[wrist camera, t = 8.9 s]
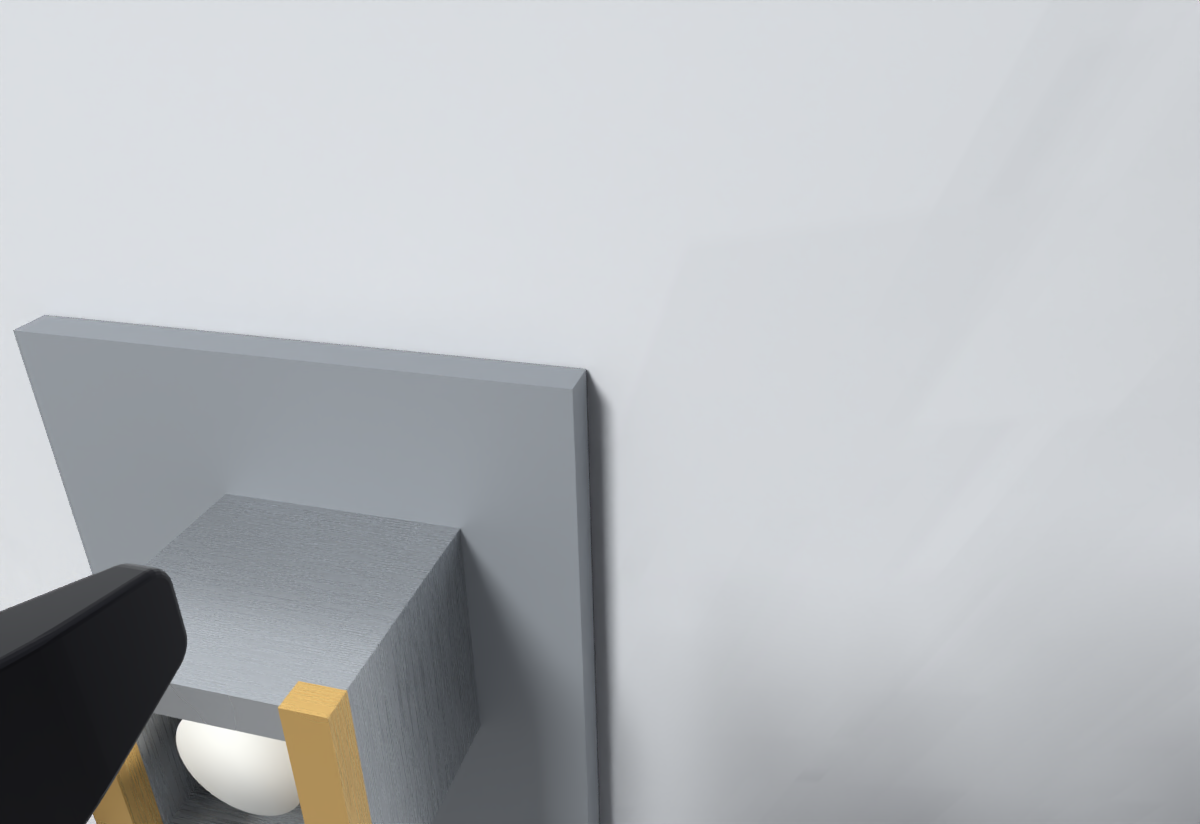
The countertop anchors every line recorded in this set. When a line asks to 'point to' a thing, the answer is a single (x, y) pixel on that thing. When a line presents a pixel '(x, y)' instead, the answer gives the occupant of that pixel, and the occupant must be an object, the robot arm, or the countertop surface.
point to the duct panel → (360, 485)
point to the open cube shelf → (313, 664)
